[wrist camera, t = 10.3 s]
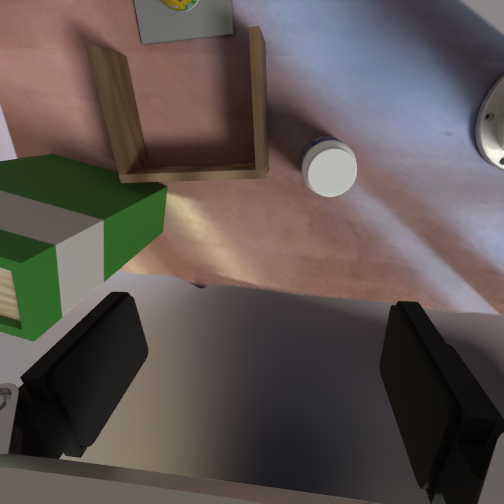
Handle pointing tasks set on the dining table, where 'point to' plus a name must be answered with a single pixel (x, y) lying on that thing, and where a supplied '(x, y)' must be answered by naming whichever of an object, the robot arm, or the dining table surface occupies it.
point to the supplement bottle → (180, 4)
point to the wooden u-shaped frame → (130, 133)
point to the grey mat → (183, 21)
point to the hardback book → (66, 235)
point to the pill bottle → (328, 166)
